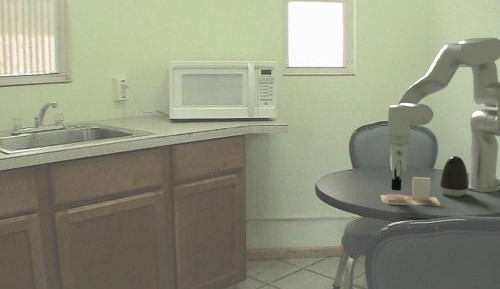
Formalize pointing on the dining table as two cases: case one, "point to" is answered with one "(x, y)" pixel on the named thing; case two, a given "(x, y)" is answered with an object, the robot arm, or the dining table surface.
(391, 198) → the tile
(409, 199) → the cork mat
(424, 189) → the tile
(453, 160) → the black rounded dome
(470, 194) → the dining table surface
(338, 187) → the dining table surface
